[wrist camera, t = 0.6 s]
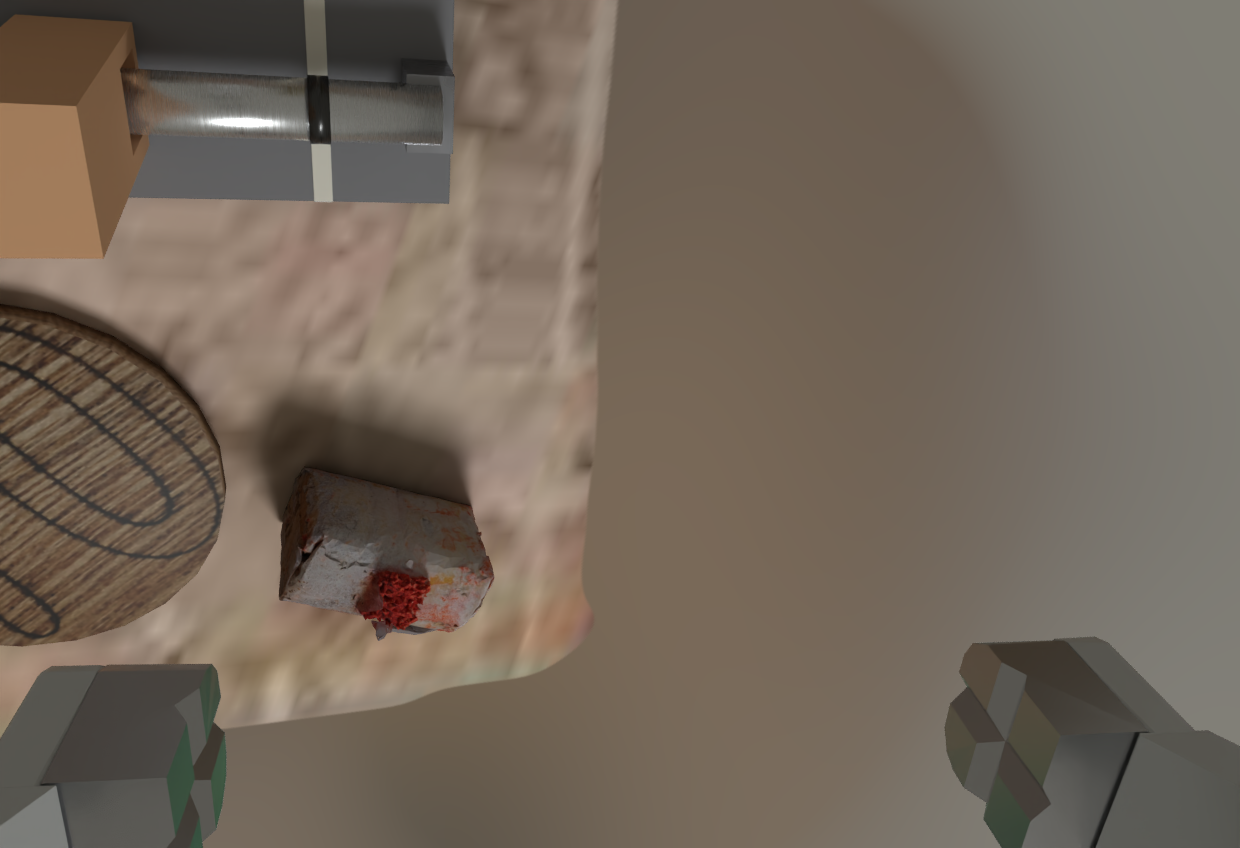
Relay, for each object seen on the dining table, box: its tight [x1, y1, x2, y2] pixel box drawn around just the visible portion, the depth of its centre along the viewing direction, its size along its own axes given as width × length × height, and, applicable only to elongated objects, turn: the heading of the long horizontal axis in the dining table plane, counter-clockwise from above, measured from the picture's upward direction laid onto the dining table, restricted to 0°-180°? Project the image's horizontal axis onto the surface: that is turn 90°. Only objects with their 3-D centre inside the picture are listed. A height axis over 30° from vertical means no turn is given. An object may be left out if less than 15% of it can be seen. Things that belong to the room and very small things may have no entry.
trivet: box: [0, 304, 226, 646], centre depth 60 cm, size 25×25×2 cm
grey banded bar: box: [120, 58, 455, 154], centre depth 48 cm, size 23×4×5 cm, turn 83°
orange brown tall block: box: [0, 14, 149, 259], centre depth 42 cm, size 5×6×14 cm
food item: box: [279, 466, 494, 641], centre depth 65 cm, size 14×8×10 cm, turn 62°
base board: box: [0, 0, 454, 204], centre depth 50 cm, size 24×12×1 cm, turn 83°
